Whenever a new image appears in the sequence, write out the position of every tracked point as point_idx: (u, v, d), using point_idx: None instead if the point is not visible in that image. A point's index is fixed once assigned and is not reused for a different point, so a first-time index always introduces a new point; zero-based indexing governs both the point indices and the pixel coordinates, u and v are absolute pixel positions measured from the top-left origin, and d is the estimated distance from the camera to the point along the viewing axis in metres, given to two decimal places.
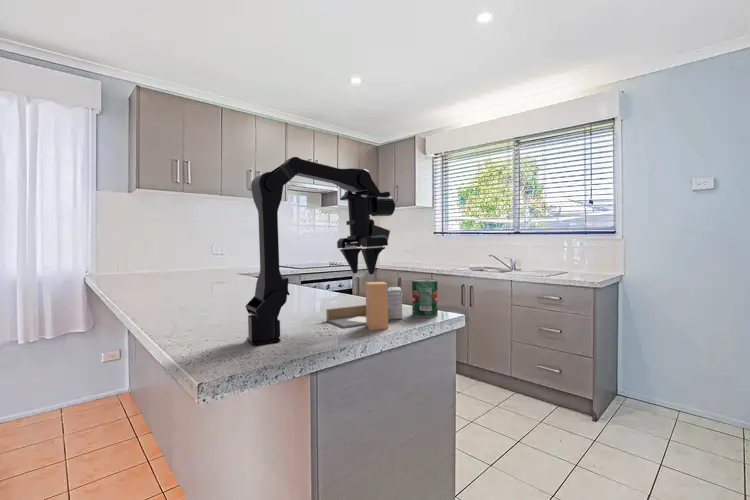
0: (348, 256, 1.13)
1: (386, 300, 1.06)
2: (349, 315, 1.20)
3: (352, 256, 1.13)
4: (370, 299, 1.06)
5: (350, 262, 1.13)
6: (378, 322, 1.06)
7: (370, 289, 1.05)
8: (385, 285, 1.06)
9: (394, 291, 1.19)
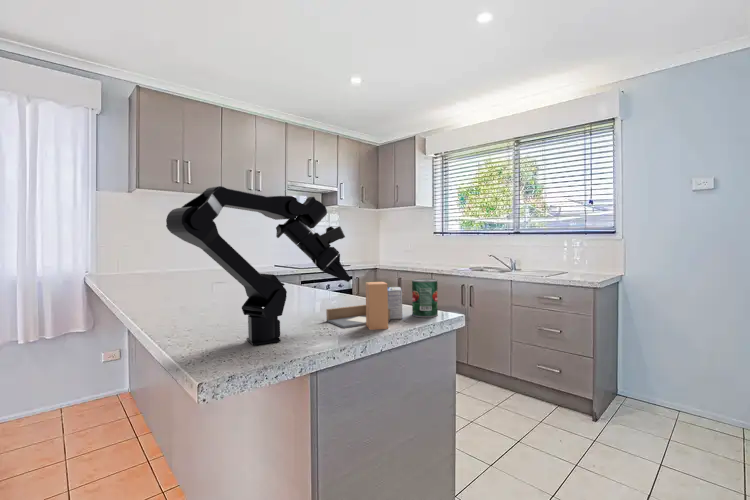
0: None
1: (386, 300, 1.06)
2: (349, 315, 1.20)
3: None
4: (370, 299, 1.06)
5: None
6: (378, 322, 1.06)
7: (370, 289, 1.05)
8: (385, 285, 1.06)
9: (394, 291, 1.19)
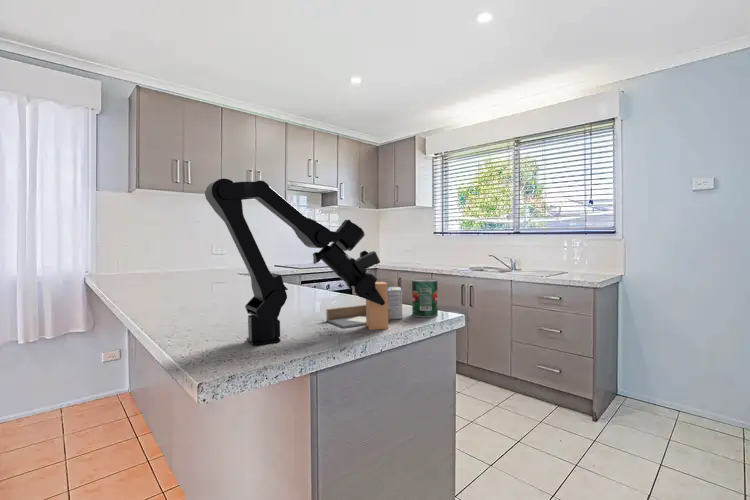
0: None
1: (386, 300, 1.06)
2: (349, 315, 1.20)
3: None
4: None
5: None
6: (378, 322, 1.06)
7: None
8: (385, 285, 1.06)
9: (394, 291, 1.19)
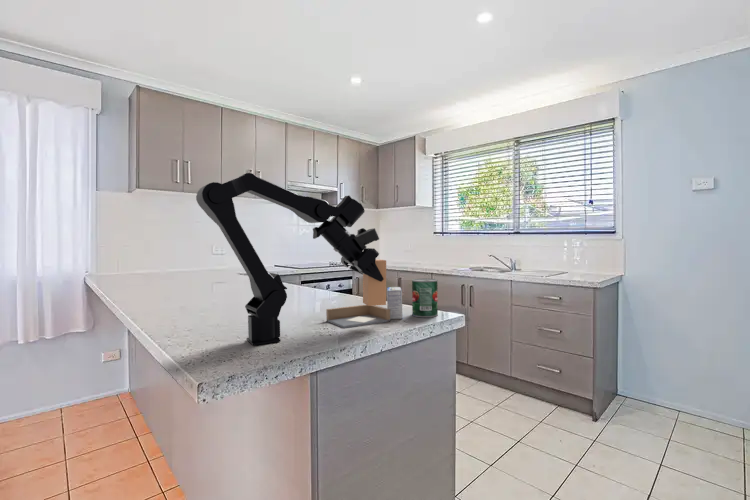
0: None
1: (384, 276, 1.08)
2: (349, 315, 1.20)
3: None
4: None
5: None
6: (376, 298, 1.07)
7: None
8: (384, 262, 1.07)
9: (394, 291, 1.19)
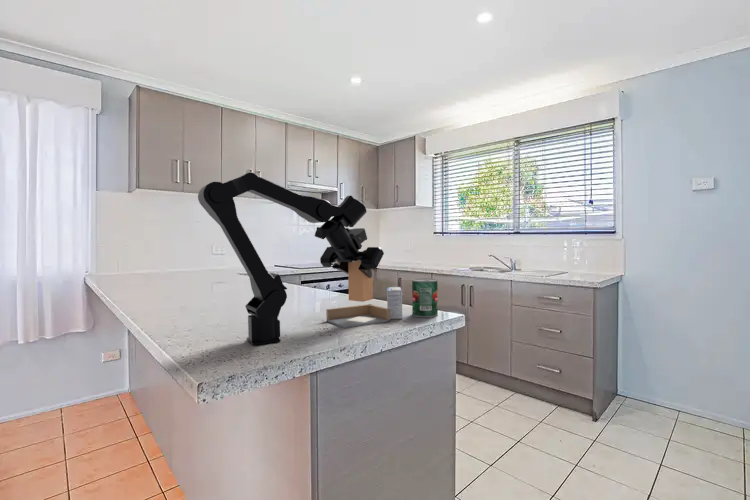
0: (345, 269, 1.15)
1: None
2: (349, 315, 1.20)
3: (347, 266, 1.15)
4: (363, 273, 1.12)
5: None
6: (367, 294, 1.14)
7: None
8: None
9: (394, 291, 1.19)
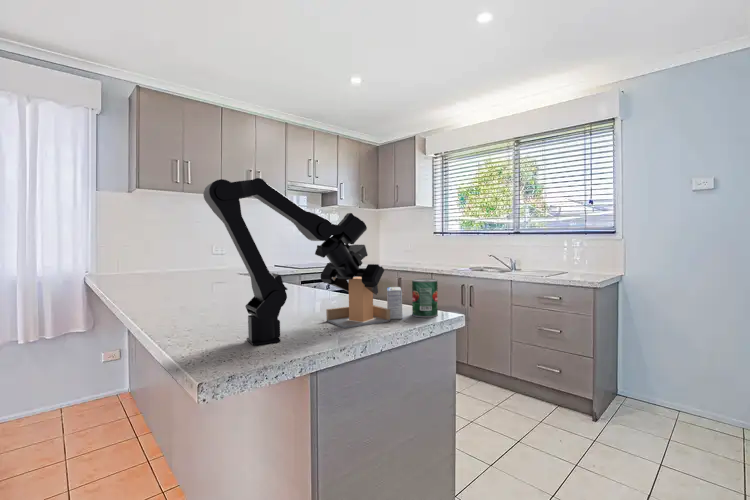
0: (340, 285, 1.16)
1: None
2: None
3: (342, 282, 1.16)
4: (363, 293, 1.12)
5: (344, 288, 1.17)
6: (367, 313, 1.14)
7: None
8: None
9: (394, 291, 1.19)
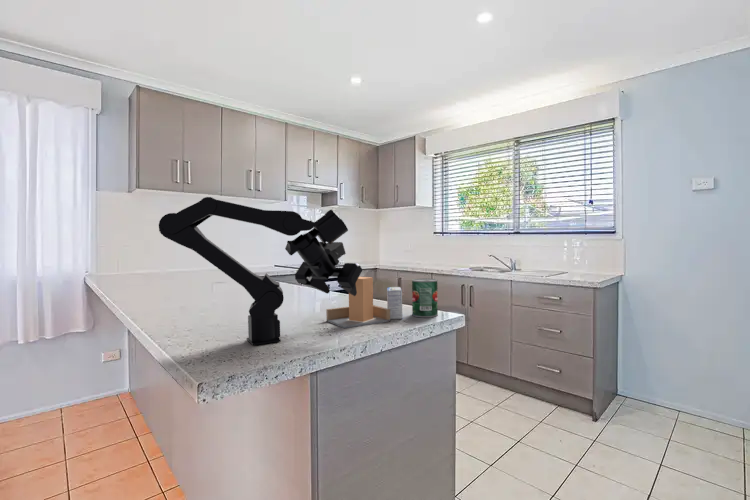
0: (316, 285, 1.08)
1: (372, 292, 1.16)
2: None
3: (319, 282, 1.08)
4: (363, 293, 1.12)
5: (321, 288, 1.09)
6: (367, 313, 1.14)
7: (363, 283, 1.12)
8: (371, 279, 1.16)
9: (394, 291, 1.19)
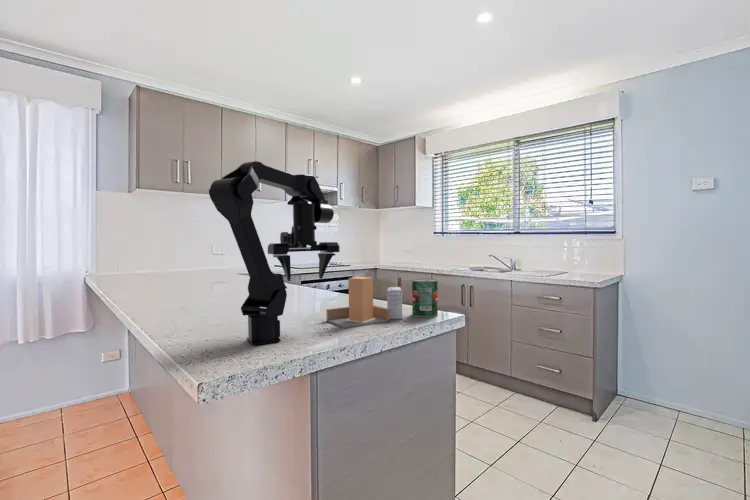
0: None
1: (372, 292, 1.16)
2: None
3: None
4: (363, 293, 1.12)
5: None
6: (367, 313, 1.14)
7: (363, 283, 1.12)
8: (371, 279, 1.16)
9: (394, 291, 1.19)
